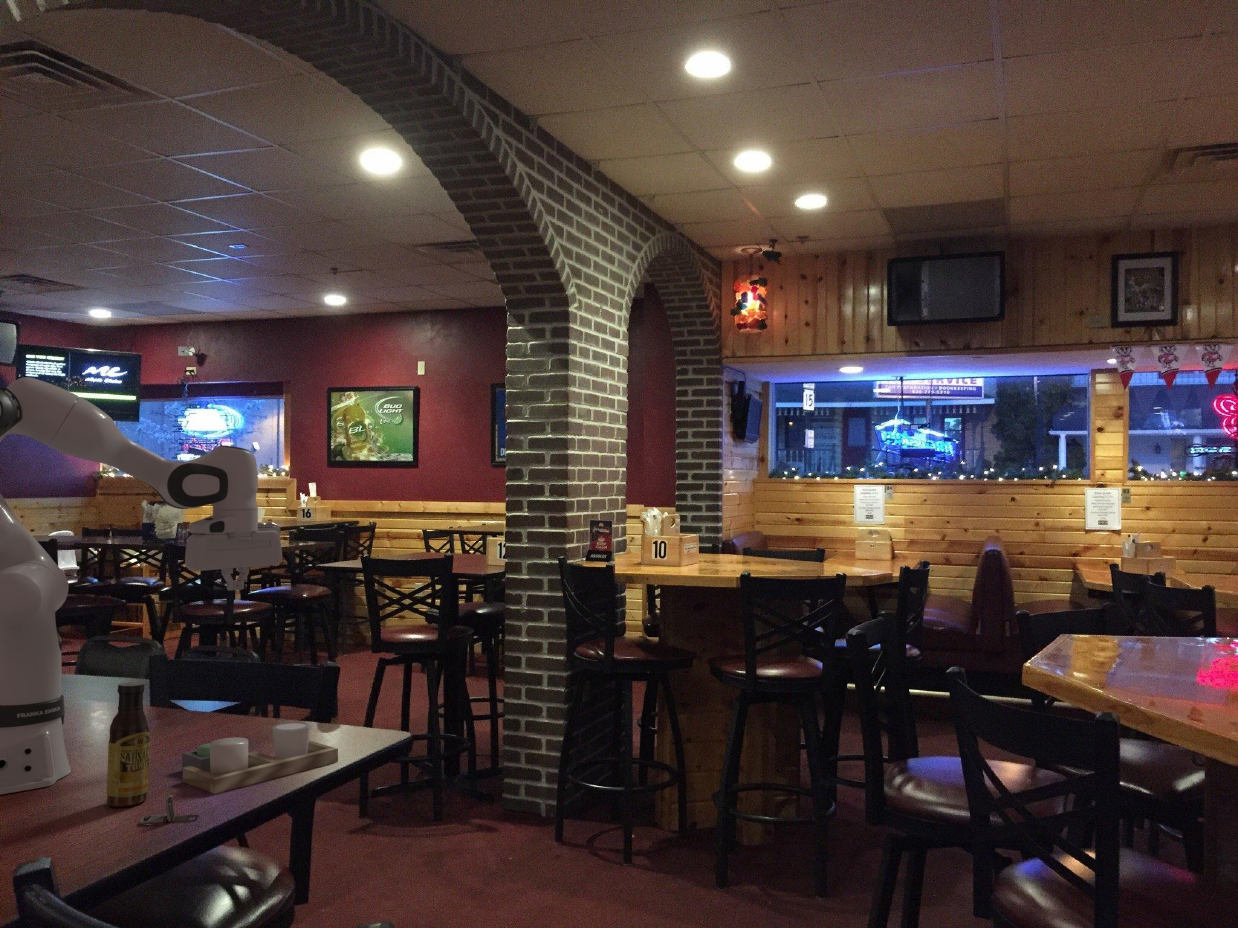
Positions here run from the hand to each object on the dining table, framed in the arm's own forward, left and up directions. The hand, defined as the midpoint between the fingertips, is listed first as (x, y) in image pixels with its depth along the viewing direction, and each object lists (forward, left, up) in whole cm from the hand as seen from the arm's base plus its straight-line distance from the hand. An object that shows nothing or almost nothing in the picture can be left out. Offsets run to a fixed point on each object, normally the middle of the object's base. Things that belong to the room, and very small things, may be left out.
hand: (235, 589), depth 209 cm
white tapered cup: (-2, -24, -31) cm, 40 cm away
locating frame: (-9, -25, -31) cm, 41 cm away
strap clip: (-33, -38, -32) cm, 59 cm away
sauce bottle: (-33, -24, -31) cm, 51 cm away
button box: (-15, -16, -31) cm, 38 cm away
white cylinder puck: (-16, -26, -31) cm, 44 cm away
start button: (-15, -16, -30) cm, 37 cm away
